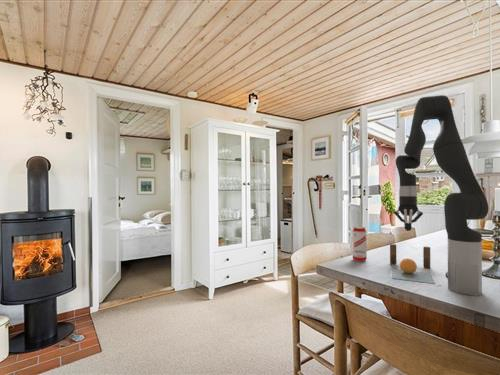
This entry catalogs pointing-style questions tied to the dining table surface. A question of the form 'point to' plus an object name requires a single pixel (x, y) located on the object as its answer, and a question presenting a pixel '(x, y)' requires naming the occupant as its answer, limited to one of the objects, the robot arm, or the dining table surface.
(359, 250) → the beer can
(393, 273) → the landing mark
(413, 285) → the dining table surface
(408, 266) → the ball
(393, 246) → the left post
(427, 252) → the right post
